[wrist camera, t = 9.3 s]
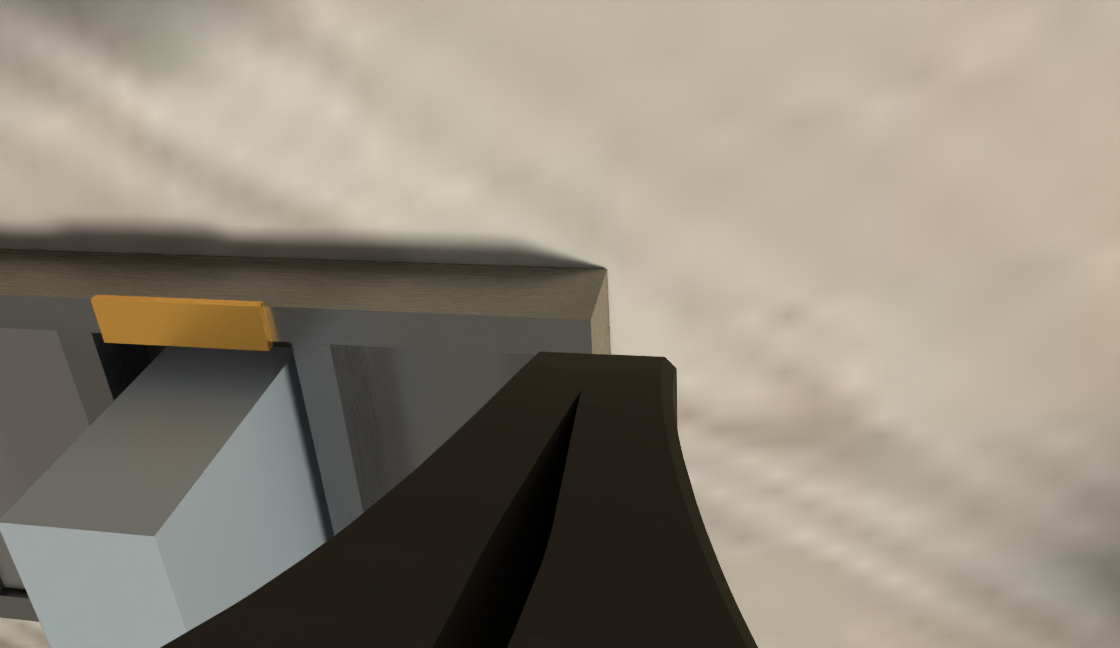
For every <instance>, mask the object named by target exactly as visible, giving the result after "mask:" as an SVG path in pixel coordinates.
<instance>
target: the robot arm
mask: <svg viewBox="0 0 1120 648" xmlns="http://www.w3.org/2000/svg"><path fill="white" fill-rule="evenodd" d="M160 648H758V647H757V645H756V643H755V641H754V639H753V637H752V635H751V633H750V631H749V629H748V627H747V625H746V623H745V621H744V619H743V616H742V614H741V612H740V610H739V608H738V606H737V604H736V602H735V599H734V597H733V595H732V593H731V591H730V588H729V586H728V584H727V581H726V579H725V577H724V574H723V572H722V570H721V567H720V565H719V562H718V560H717V557H716V555H715V552H714V550H713V547H712V544H711V542H710V539H709V537H708V534H707V532H706V529H705V526H704V523H703V520H702V518H701V515H700V512H699V509H698V506H697V503H696V500H695V496H694V493H693V489H692V486H691V483H690V479H689V476H688V472H687V469H686V465H685V462H684V459H683V454H682V450H681V446H680V441H679V436H678V431H677V371H676V367H674V366H673V365H672V364H671V363H670V362H669V361H668V360H667V359H666V358H665V357H652V356H629V355H607V354H584V353H561V352H539V353H537V354H536V355H535V356H534V357H533V358H532V359H531V360H530V361H529V362H528V363H526V364H525V365H524V366H523V367H522V368H521V369H520V370H519V371H518V372H517V373H516V374H515V375H514V376H513V377H512V378H511V379H510V380H509V381H508V382H507V383H506V384H505V385H504V386H503V387H502V388H501V389H500V390H499V391H498V392H497V393H495V394H494V395H493V396H492V397H491V398H490V399H489V400H488V401H487V402H486V403H485V404H484V405H483V406H482V407H481V408H480V409H479V410H478V411H477V412H476V413H475V414H474V415H473V416H472V417H471V418H470V419H469V420H468V421H467V422H466V423H465V424H464V425H463V426H462V427H461V428H459V429H458V430H457V431H456V432H455V433H454V434H453V435H452V436H451V437H450V438H449V439H448V440H446V441H445V442H444V443H443V444H442V445H441V446H440V447H439V448H438V449H437V450H436V451H435V452H433V453H432V454H431V455H430V456H429V457H428V458H427V459H426V460H425V461H424V462H423V463H421V464H420V465H419V466H418V467H417V468H416V469H415V470H414V471H413V472H412V473H410V474H409V475H408V476H407V477H406V478H405V479H404V480H402V481H401V482H400V483H399V484H397V485H396V486H395V487H394V488H393V489H391V490H390V491H389V492H388V493H387V494H385V495H384V496H383V497H382V498H381V499H379V500H378V501H377V502H376V503H375V504H373V505H372V506H371V507H370V508H369V509H367V510H366V511H365V512H364V513H362V514H361V515H360V516H359V517H358V518H356V519H355V520H354V521H353V522H352V523H350V524H349V525H348V526H346V527H345V528H344V529H343V530H341V531H340V532H339V533H337V534H336V535H335V536H333V537H332V538H331V539H329V540H328V541H327V542H325V543H324V544H322V545H321V546H320V547H318V548H317V549H316V550H314V551H313V552H311V553H310V554H309V555H307V556H306V557H305V558H303V559H302V560H300V561H299V562H297V563H296V564H294V565H293V566H291V567H290V568H288V569H287V570H285V571H284V572H282V573H281V574H280V575H278V576H277V577H275V578H274V579H272V580H271V581H269V582H268V583H266V584H265V585H263V586H262V587H260V588H259V589H257V590H256V591H254V592H253V593H251V594H250V595H248V596H247V597H245V598H243V599H242V600H240V601H239V602H237V603H236V604H234V605H232V606H231V607H229V608H227V609H225V610H224V611H222V612H220V613H219V614H217V615H215V616H213V617H212V618H210V619H208V620H207V621H205V622H203V623H201V624H200V625H198V626H196V627H195V628H193V629H191V630H189V631H188V632H186V633H184V634H183V635H181V636H179V637H177V638H176V639H174V640H172V641H171V642H169V643H167V644H165V645H164V646H162V647H160Z"/></svg>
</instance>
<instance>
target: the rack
mask: <svg viewBox="0 0 1120 648" xmlns="http://www.w3.org/2000/svg"><path fill="white" fill-rule="evenodd" d="M167 346H180V347H199V348H218V349H238V350H257V351H270V349H271V348H272V347H287V348H293V353H294V357H295V362H296V366H297V371H298V375H299V380H300V384H301V389H302V393H303V398H304V402H305V407H306V411H307V416H308V420H309V424H310V429H311V433H312V438H313V442H314V447H315V451H316V456H317V460H318V465H319V469H320V474H321V478H322V483H323V487H324V492H325V496H326V501H327V505H328V510H329V514H330V519H331V523H332V528H333V532H334V536H335V535H336V534H337V533H339V532H340V531H341V530H343V529H344V528H345V527H346V526H348V525H349V524H350V523H352V522H353V521H354V520H355V519H356V518H358V517H359V516H360V515H361V514H362V513H364V512H365V511H366V510H367V509H369V508H370V507H371V506H372V505H373V504H375V503H376V502H377V501H378V500H379V499H381V498H382V497H383V496H384V495H385V494H387V493H388V492H389V491H390V490H391V489H393V488H394V487H395V486H396V485H397V484H399V483H400V482H401V481H402V480H404V479H405V478H406V477H407V476H408V475H409V474H410V473H412V472H413V471H414V470H415V469H416V468H417V467H418V466H419V465H420V464H421V463H423V462H424V461H425V460H426V459H427V458H428V457H429V456H430V455H431V454H432V453H433V452H435V451H436V450H437V449H438V448H439V447H440V446H441V445H442V444H443V443H444V442H445V441H446V440H448V439H449V438H450V437H451V436H452V435H453V434H454V433H455V432H456V431H457V430H458V429H459V428H461V427H462V426H463V425H464V424H465V423H466V422H467V421H468V420H469V419H470V418H471V417H472V416H473V415H474V414H475V413H476V412H477V411H478V410H479V409H480V408H481V407H482V406H483V405H484V404H485V403H486V402H487V401H488V400H489V399H490V398H491V397H492V396H493V395H494V394H495V393H497V392H498V391H499V390H500V389H501V388H502V387H503V386H504V385H505V384H506V383H507V382H508V381H509V380H510V379H511V378H512V377H513V376H514V375H515V374H516V373H517V372H518V371H519V370H520V369H521V368H522V367H523V366H524V365H525V364H526V363H528V362H529V361H530V360H531V359H532V358H533V357H534V356H535V355H536V354H537V353H539V352H561V353H584V354H607V355H611V349H610V326H609V303H608V279H607V269H580V268H550V267H520V266H489V265H459V264H429V263H399V262H368V261H338V260H308V259H278V258H247V257H217V256H187V255H157V254H126V253H96V252H66V251H36V250H5V249H0V518H1V517H2V516H3V515H4V514H5V513H6V512H7V511H8V510H9V509H10V508H11V507H12V506H13V505H14V504H15V503H16V502H17V501H18V500H19V498H20V497H21V496H22V495H23V494H24V493H25V492H26V491H27V490H28V489H29V488H30V487H31V486H32V485H33V484H34V483H35V482H36V481H37V480H38V479H39V478H40V477H41V476H42V475H43V474H44V473H45V472H46V471H47V470H48V469H49V468H50V466H51V465H52V464H53V463H54V462H55V461H56V460H57V459H58V458H59V457H60V456H61V455H62V454H63V453H64V452H65V451H66V450H67V449H68V448H69V447H70V446H71V445H72V444H73V443H74V442H75V441H76V440H77V439H78V438H79V437H80V436H81V435H82V433H83V432H84V431H85V430H86V429H87V428H88V427H89V426H90V425H91V424H92V423H93V422H94V421H95V420H96V419H97V418H98V417H99V416H100V415H101V414H102V413H103V412H104V411H105V410H106V409H107V408H108V407H109V406H110V405H111V404H112V403H113V402H114V400H115V399H116V398H117V397H118V396H119V395H120V394H121V393H122V392H123V391H124V390H125V389H126V388H127V387H128V386H129V385H130V384H131V383H132V382H133V381H134V380H135V379H136V378H137V377H138V376H139V375H140V374H141V373H142V372H143V371H144V370H145V369H146V367H147V366H148V365H149V364H150V363H151V362H152V361H153V360H154V359H155V358H156V357H157V356H158V355H159V354H160V353H161V352H162V351H163V350H164V349H165V348H166V347H167ZM0 617H2V618H12V619H21V620H30V621H39V619H38V617H37V615H36V612H35V610H34V608H33V605H32V603H31V601H30V598H29V596H28V594H27V592H26V589H25V587H24V585H23V582H22V580H21V578H20V575H19V573H18V571H17V568H16V566H15V564H14V562H13V559H12V557H11V555H10V552H9V550H8V548H7V545H6V543H5V541H4V538H3V536H2V534H1V532H0Z"/></svg>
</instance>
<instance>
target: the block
mask: <svg viewBox="0 0 1120 648" xmlns="http://www.w3.org/2000/svg"><path fill="white" fill-rule="evenodd" d="M0 532H1V534H2V536H3V538H4V541H5V543H6V545H7V548H8V550H9V552H10V555H11V557H12V559H13V562H14V564H15V566H16V568H17V571H18V573H19V575H20V578H21V580H22V582H23V585H24V587H25V589H26V592H27V594H28V596H29V598H30V601H31V603H32V605H33V608H34V610H35V612H36V615H37V617H38V619H39V622H40V624H41V626H42V628H43V631H44V633H45V635H46V638H47V640H48V642H49V645H50V647H51V648H160V647H162V646H164V645H165V644H167V643H169V642H171V641H172V640H174V639H176V638H177V637H179V636H181V635H183V634H184V633H186V632H188V631H189V630H191V629H193V628H195V627H196V626H198V625H200V624H201V623H203V622H205V621H207V620H208V619H210V618H212V617H213V616H215V615H217V614H219V613H220V612H222V611H224V610H225V609H227V608H229V607H231V606H232V605H234V604H236V603H237V602H239V601H240V600H242V599H243V598H245V597H247V596H248V595H250V594H251V593H253V592H254V591H256V590H257V589H259V588H260V587H262V586H263V585H265V584H266V583H268V582H269V581H271V580H272V579H274V578H275V577H277V576H278V575H280V574H281V573H282V572H284V571H285V570H287V569H288V568H290V567H291V566H293V565H294V564H296V563H297V562H299V561H300V560H302V559H303V558H305V557H306V556H307V555H309V554H310V553H311V552H313V551H314V550H316V549H317V548H318V547H320V546H321V545H322V544H324V543H325V542H327V541H328V540H329V539H331V538H332V537H333V536H334V532H333V528H332V523H331V519H330V514H329V510H328V505H327V501H326V496H325V492H324V487H323V483H322V478H321V474H320V469H319V465H318V460H317V456H316V451H315V447H314V442H313V438H312V433H311V429H310V424H309V420H308V416H307V411H306V407H305V402H304V398H303V393H302V389H301V384H300V380H299V375H298V371H297V366H296V362H295V357H294V353H293V348H287V347H272V348H271V349H270V351H257V350H238V349H218V348H199V347H180V346H167V347H166V348H165V349H164V350H163V351H162V352H161V353H160V354H159V355H158V356H157V357H156V358H155V359H154V360H153V361H152V362H151V363H150V364H149V365H148V366H147V367H146V369H145V370H144V371H143V372H142V373H141V374H140V375H139V376H138V377H137V378H136V379H135V380H134V381H133V382H132V383H131V384H130V385H129V386H128V387H127V388H126V389H125V390H124V391H123V392H122V393H121V394H120V395H119V396H118V397H117V398H116V399H115V400H114V402H113V403H112V404H111V405H110V406H109V407H108V408H107V409H106V410H105V411H104V412H103V413H102V414H101V415H100V416H99V417H98V418H97V419H96V420H95V421H94V422H93V423H92V424H91V425H90V426H89V427H88V428H87V429H86V430H85V431H84V432H83V433H82V435H81V436H80V437H79V438H78V439H77V440H76V441H75V442H74V443H73V444H72V445H71V446H70V447H69V448H68V449H67V450H66V451H65V452H64V453H63V454H62V455H61V456H60V457H59V458H58V459H57V460H56V461H55V462H54V463H53V464H52V465H51V466H50V468H49V469H48V470H47V471H46V472H45V473H44V474H43V475H42V476H41V477H40V478H39V479H38V480H37V481H36V482H35V483H34V484H33V485H32V486H31V487H30V488H29V489H28V490H27V491H26V492H25V493H24V494H23V495H22V496H21V497H20V498H19V500H18V501H17V502H16V503H15V504H14V505H13V506H12V507H11V508H10V509H9V510H8V511H7V512H6V513H5V514H4V515H3V516H2V517H1V518H0Z"/></svg>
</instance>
